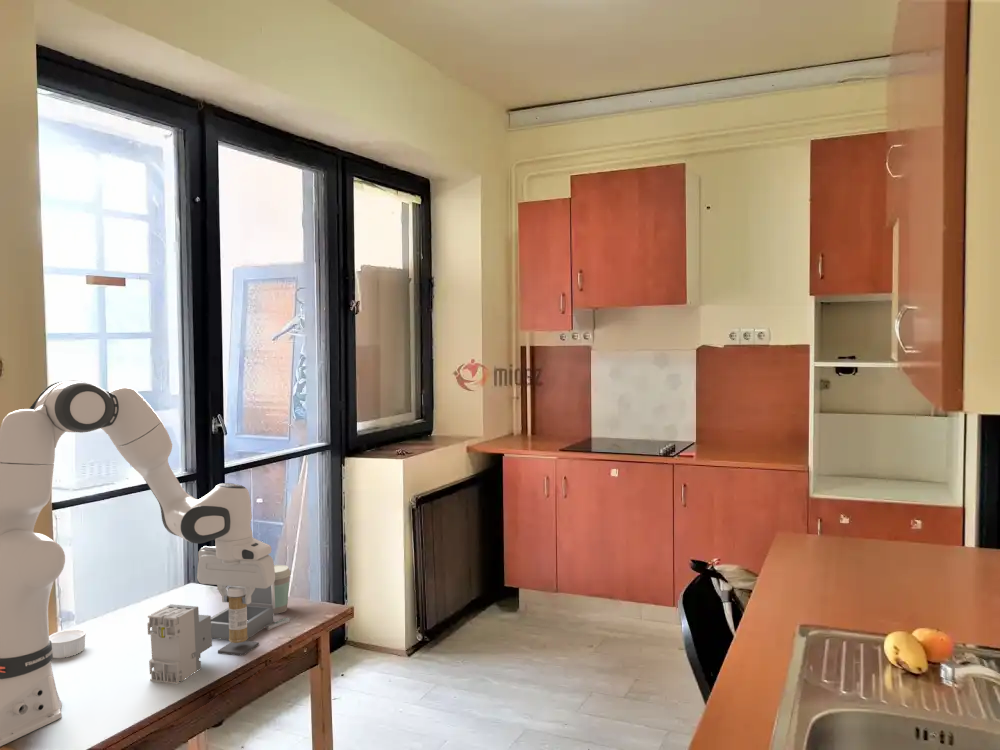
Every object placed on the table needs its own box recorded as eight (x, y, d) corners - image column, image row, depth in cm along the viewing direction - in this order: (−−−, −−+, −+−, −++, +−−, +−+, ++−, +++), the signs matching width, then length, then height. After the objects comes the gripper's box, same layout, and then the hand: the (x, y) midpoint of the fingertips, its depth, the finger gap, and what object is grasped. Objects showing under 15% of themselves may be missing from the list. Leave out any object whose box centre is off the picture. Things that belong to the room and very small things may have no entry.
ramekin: (38, 660, 195) (37, 642, 194) (59, 645, 204) (58, 629, 203) (74, 659, 194) (73, 642, 194) (93, 645, 203) (92, 628, 203)
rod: (268, 630, 211) (268, 626, 211) (265, 630, 212) (265, 625, 212) (289, 622, 217) (289, 618, 217) (286, 621, 218) (286, 617, 217)
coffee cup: (266, 605, 230) (265, 564, 229) (295, 605, 230) (294, 564, 229) (256, 615, 222) (254, 573, 221) (286, 615, 221) (285, 573, 221)
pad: (242, 655, 194) (242, 653, 194) (217, 653, 196) (217, 650, 196) (258, 644, 201) (258, 642, 201) (234, 642, 203) (234, 639, 203)
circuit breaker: (216, 658, 193) (214, 597, 192) (178, 684, 179) (175, 618, 179) (190, 655, 195) (187, 595, 194) (150, 680, 181) (147, 616, 181)
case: (247, 641, 203) (244, 580, 202) (203, 637, 207) (200, 576, 206) (278, 620, 217) (276, 563, 216) (236, 617, 221) (234, 560, 220)
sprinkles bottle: (245, 636, 202) (244, 583, 201) (249, 641, 198) (248, 587, 198) (227, 639, 200) (226, 585, 199) (230, 644, 196) (229, 590, 195)
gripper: (190, 549, 197) (192, 603, 198) (263, 553, 192) (265, 610, 192) (206, 542, 203) (208, 595, 204) (277, 546, 198) (279, 601, 198)
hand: (236, 602), depth 198 cm, fingers closed on sprinkles bottle, 4 cm apart
